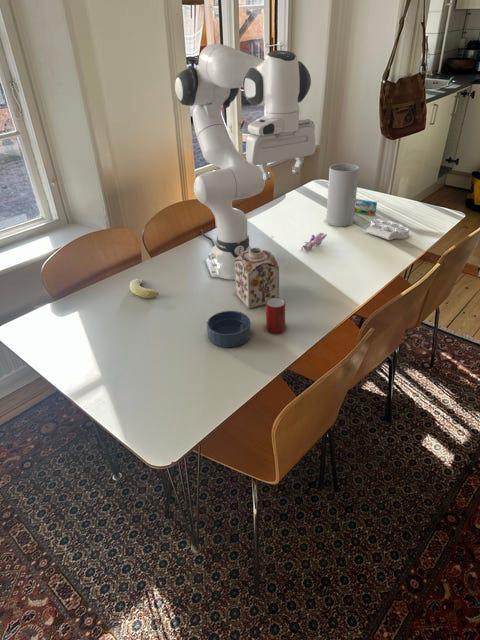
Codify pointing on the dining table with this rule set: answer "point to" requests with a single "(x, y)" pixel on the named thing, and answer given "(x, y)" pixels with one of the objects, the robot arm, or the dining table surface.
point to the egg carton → (387, 229)
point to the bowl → (228, 328)
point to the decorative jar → (256, 277)
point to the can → (275, 315)
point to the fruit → (142, 289)
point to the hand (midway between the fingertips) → (281, 176)
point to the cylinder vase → (342, 194)
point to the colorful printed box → (365, 207)
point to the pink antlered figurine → (314, 241)
